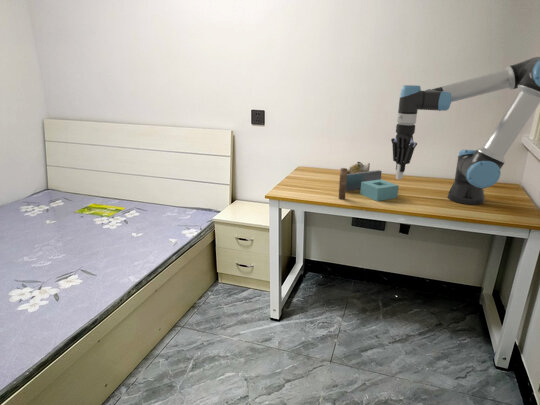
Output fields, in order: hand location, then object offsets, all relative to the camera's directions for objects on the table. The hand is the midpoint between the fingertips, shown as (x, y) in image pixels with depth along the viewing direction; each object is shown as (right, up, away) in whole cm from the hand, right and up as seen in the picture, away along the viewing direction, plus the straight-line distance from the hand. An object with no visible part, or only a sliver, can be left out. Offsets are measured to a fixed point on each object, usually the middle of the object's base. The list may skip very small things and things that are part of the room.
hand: (399, 178), depth 171 cm
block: (-5, -7, +14) cm, 17 cm away
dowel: (-23, -8, +10) cm, 27 cm away
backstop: (-11, -3, +26) cm, 29 cm away
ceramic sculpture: (-7, +4, +50) cm, 50 cm away
